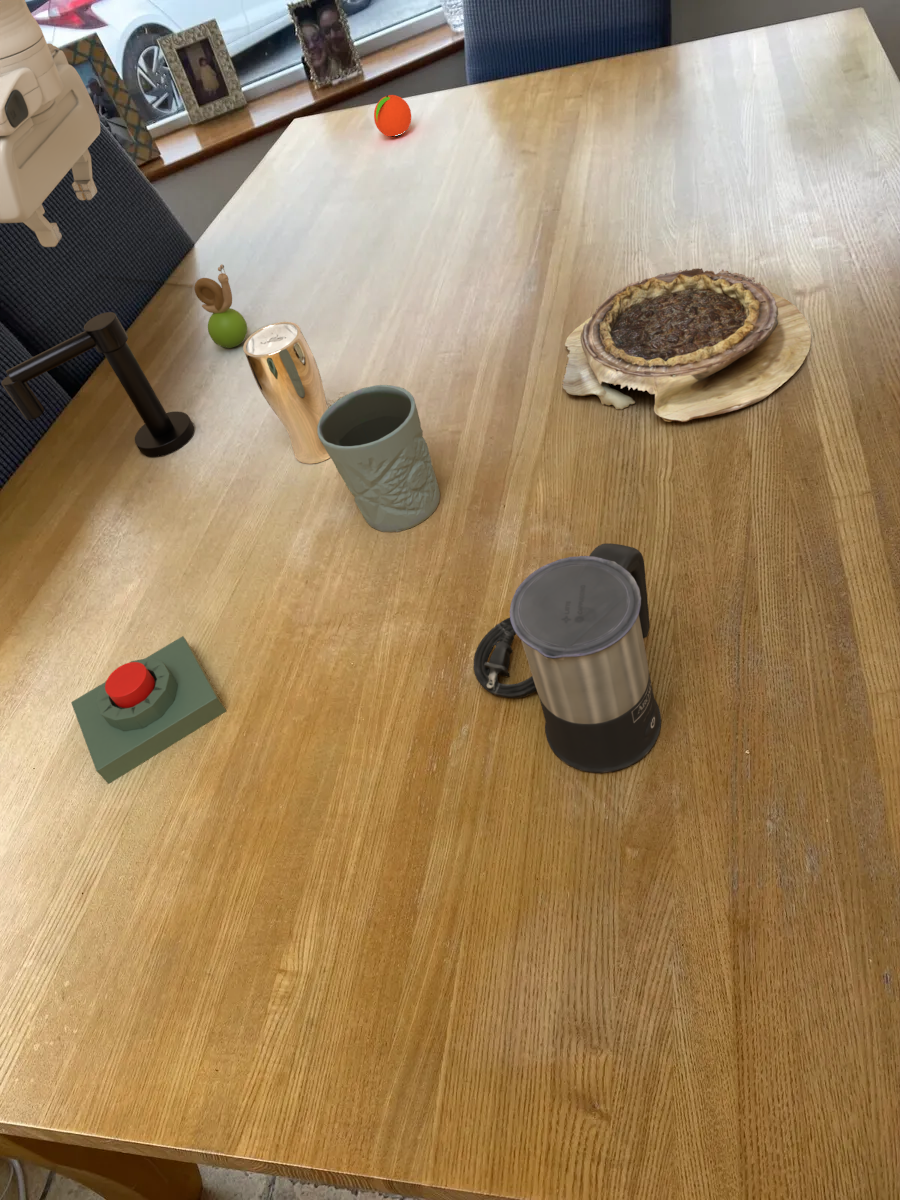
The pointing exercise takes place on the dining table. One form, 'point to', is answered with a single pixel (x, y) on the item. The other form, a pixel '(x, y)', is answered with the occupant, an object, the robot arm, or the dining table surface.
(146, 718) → the control block
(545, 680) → the milk frother
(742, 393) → the pie
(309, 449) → the beer glass
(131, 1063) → the dining table surface
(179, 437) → the base
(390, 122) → the clementine
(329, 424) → the embossed green cup
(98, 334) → the spout
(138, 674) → the button
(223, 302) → the snail figurine
